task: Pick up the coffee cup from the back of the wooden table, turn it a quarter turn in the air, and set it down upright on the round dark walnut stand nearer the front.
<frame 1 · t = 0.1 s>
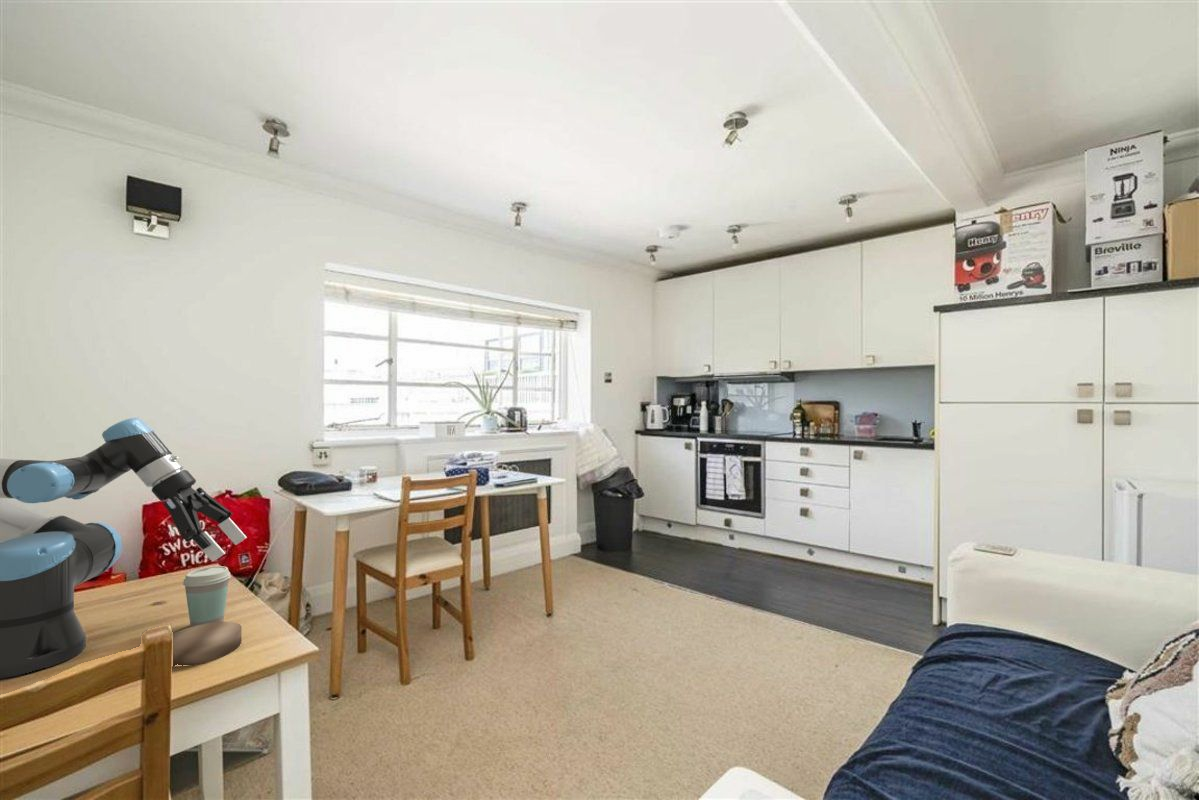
hand: (231, 549, 121), 15 cm above the table, tool tilted 35°, fingers open, 13 cm apart
walnut stand: (202, 650, 103), on the table
coffee cup: (207, 625, 115), on the table
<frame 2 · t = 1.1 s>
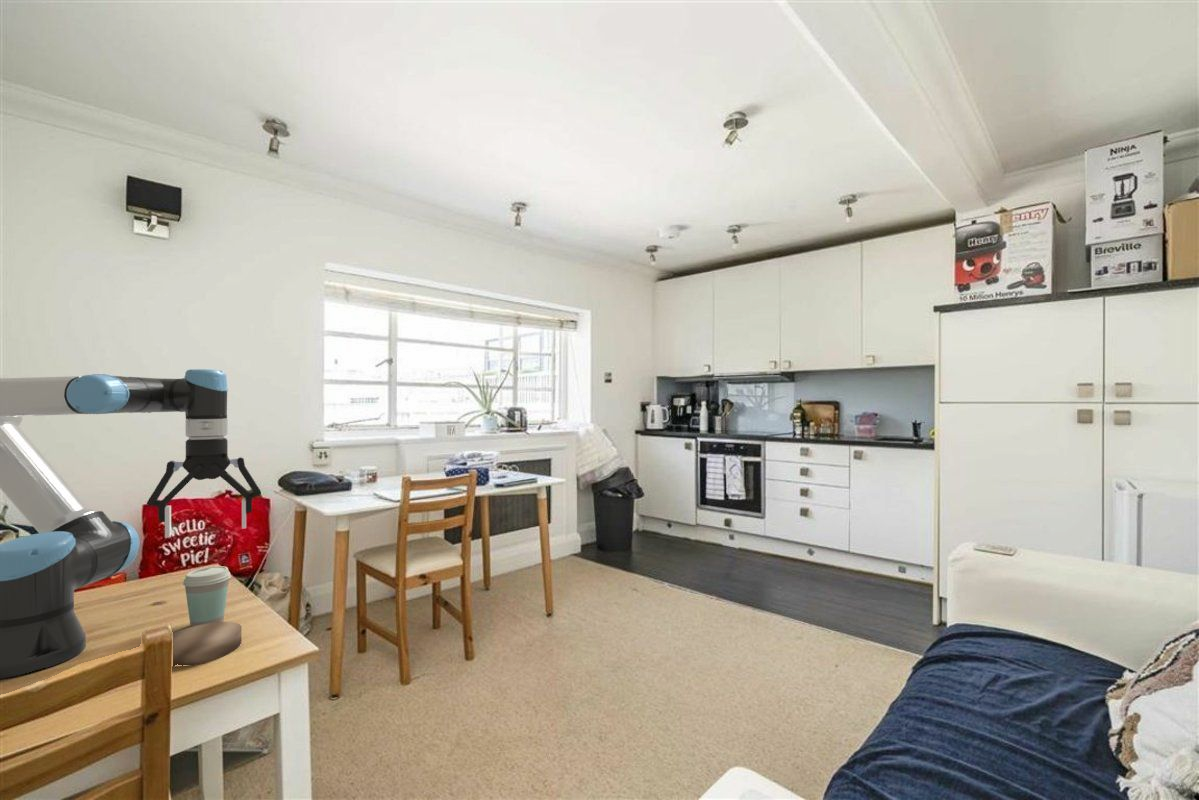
hand: (207, 532, 115), 21 cm above the table, tool pointing down, fingers open, 13 cm apart
nothing on the table moved.
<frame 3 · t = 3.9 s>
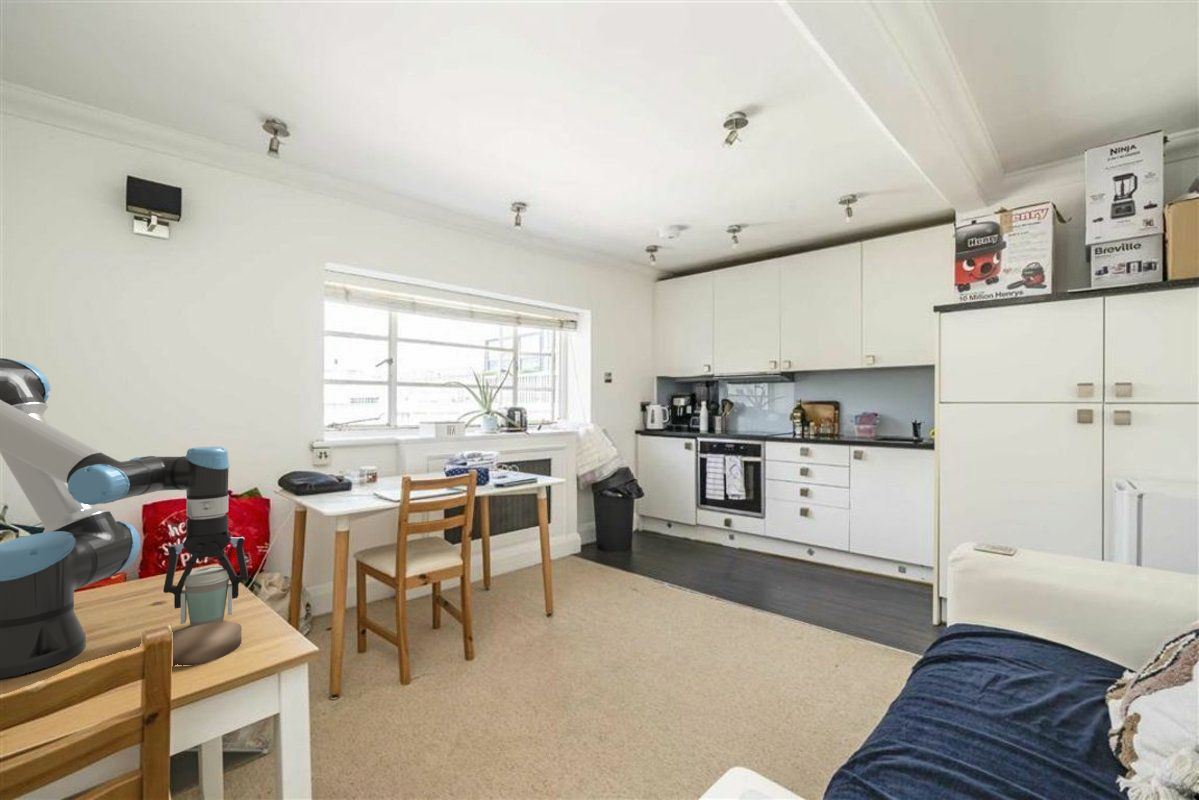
hand: (207, 617, 115), 2 cm above the table, tool pointing down, fingers closed on coffee cup, 8 cm apart
coffee cup: (207, 625, 115), on the table, touching gripper
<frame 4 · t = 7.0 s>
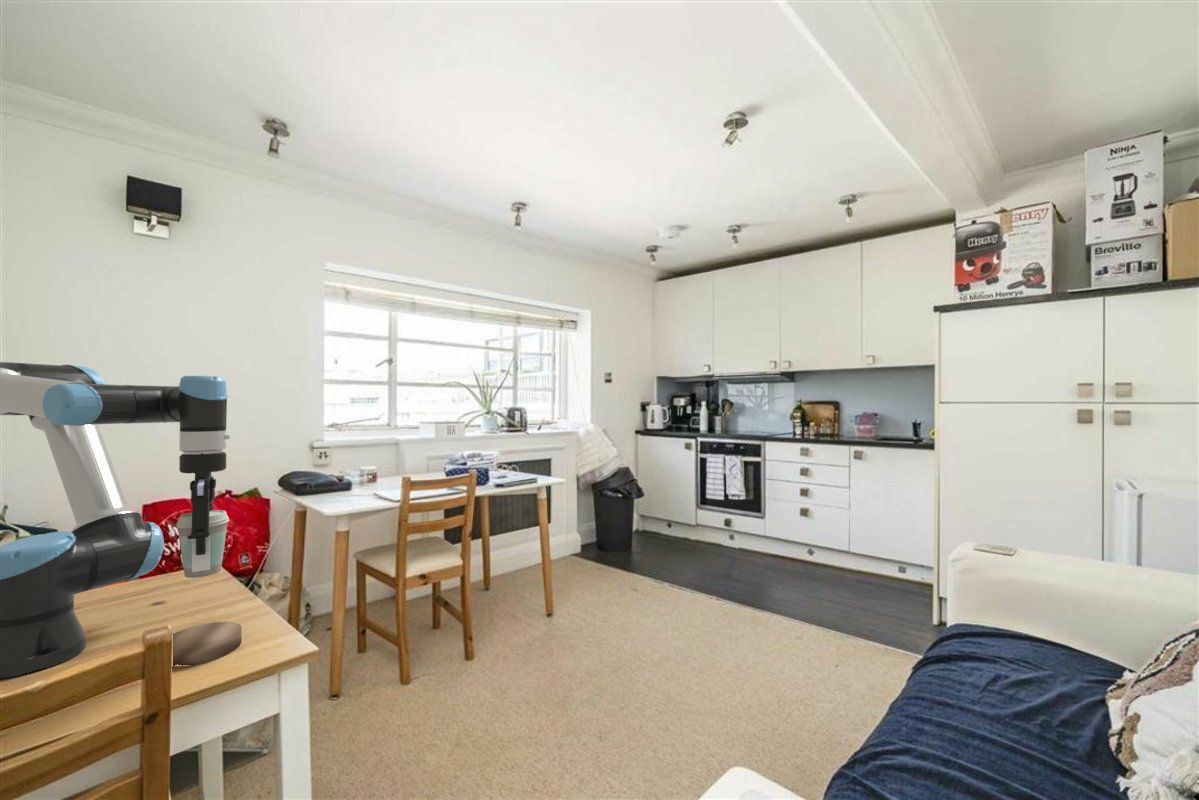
hand: (202, 564, 103), 17 cm above the table, tool pointing down, fingers closed on coffee cup, 8 cm apart
coffee cup: (203, 574, 103), point 15 cm above the table, touching gripper
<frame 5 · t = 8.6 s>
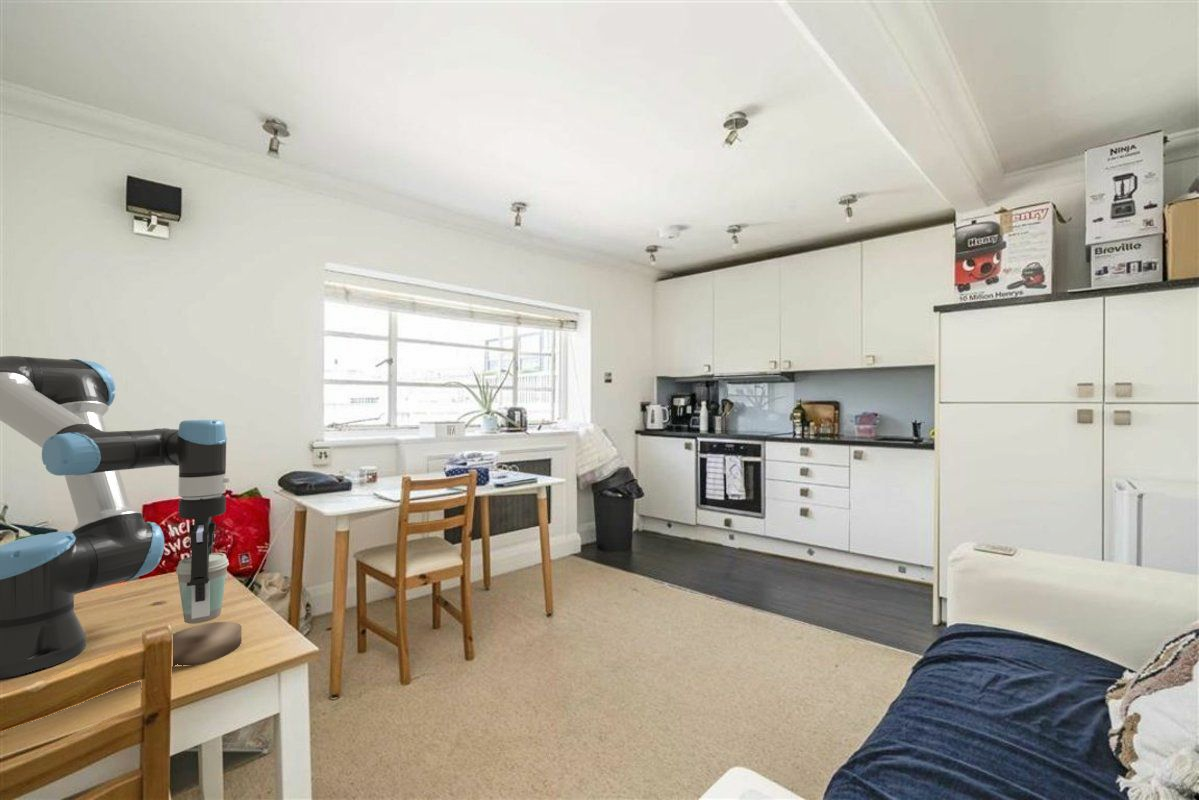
hand: (202, 609, 103), 8 cm above the table, tool pointing down, fingers closed on coffee cup, 8 cm apart
coffee cup: (202, 618, 103), point 6 cm above the table, touching gripper
when the fingers open (6 cm above the table, at t = 10.0 s): coffee cup drops 1 cm, resting on walnut stand.
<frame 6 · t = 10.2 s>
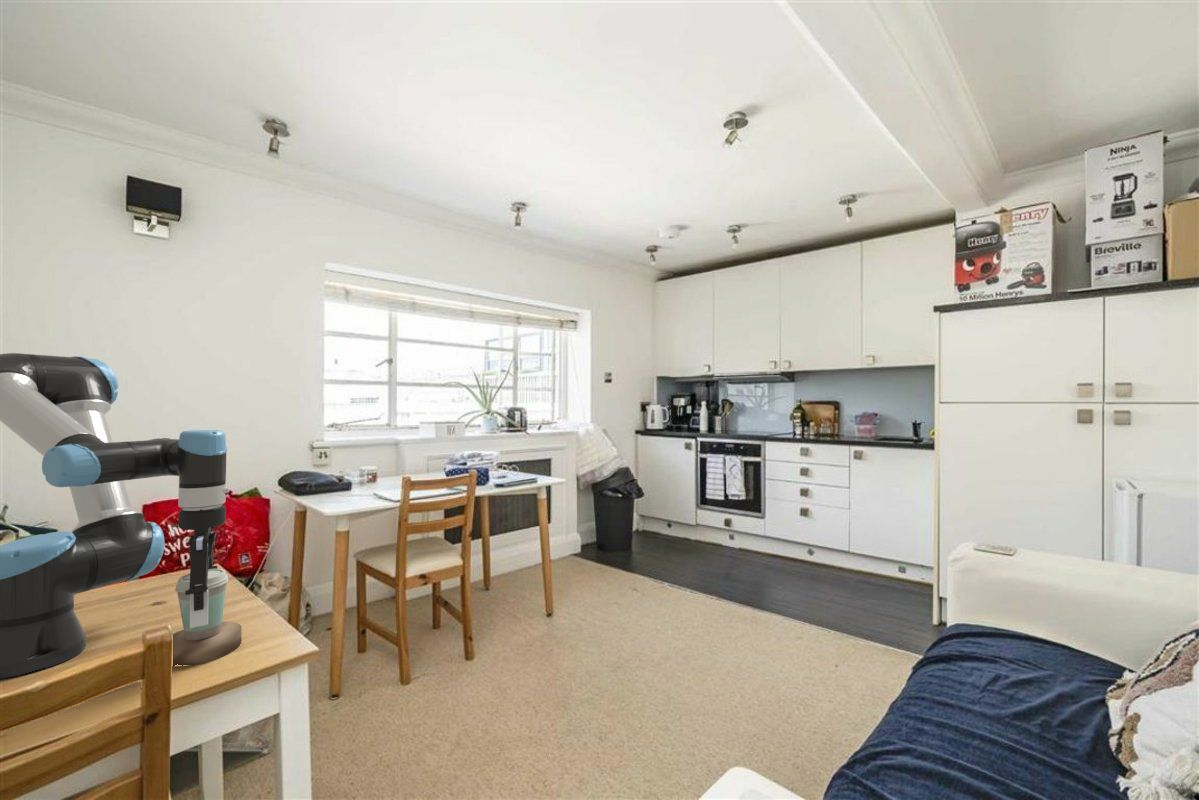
hand: (202, 614, 103), 7 cm above the table, tool pointing down, fingers open, 11 cm apart
coffee cup: (203, 634, 103), point 3 cm above the table, touching walnut stand
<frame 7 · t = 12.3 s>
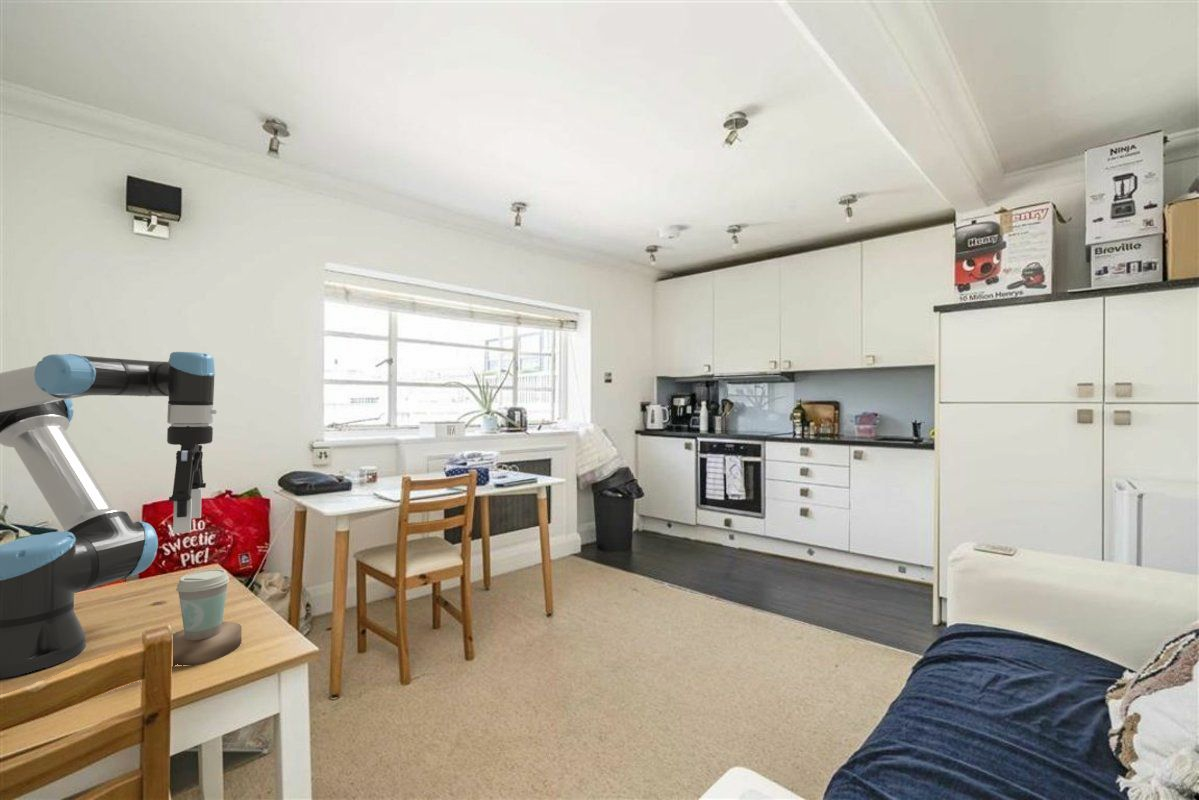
hand: (187, 525, 108), 24 cm above the table, tool pointing down, fingers open, 13 cm apart
nothing on the table moved.
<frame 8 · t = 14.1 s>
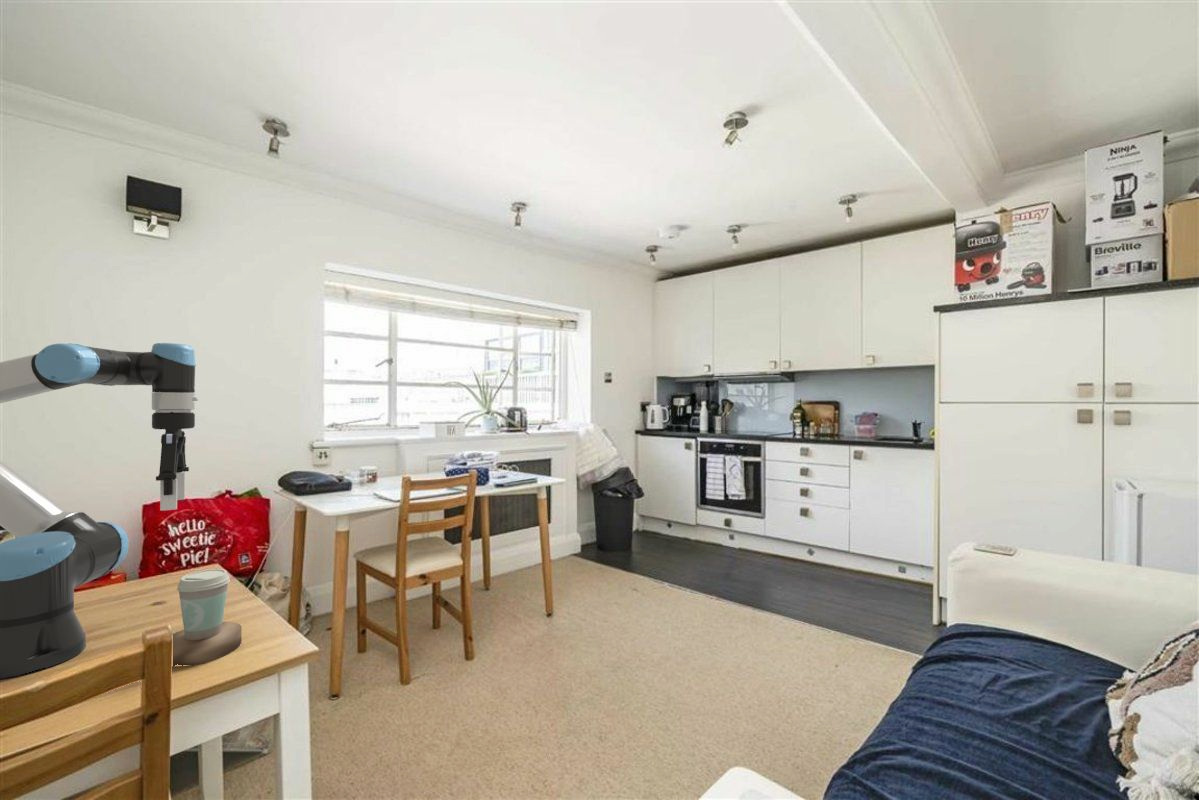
hand: (173, 504, 116), 27 cm above the table, tool pointing down, fingers open, 13 cm apart
nothing on the table moved.
at the end: coffee cup inside the target area on the walnut stand (0.7 cm from its centre), point 2.8 cm above the walnut stand's base; coffee cup tilted 0°; the gripper is holding nothing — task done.
